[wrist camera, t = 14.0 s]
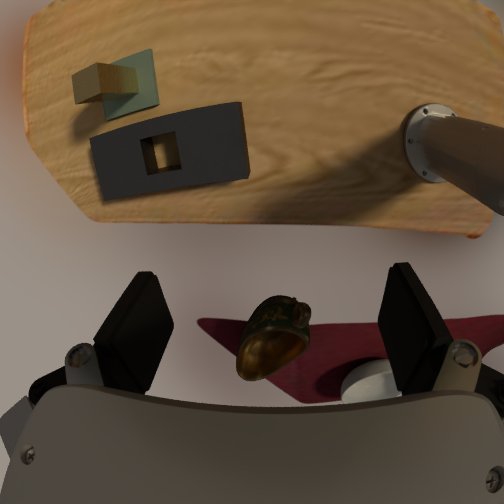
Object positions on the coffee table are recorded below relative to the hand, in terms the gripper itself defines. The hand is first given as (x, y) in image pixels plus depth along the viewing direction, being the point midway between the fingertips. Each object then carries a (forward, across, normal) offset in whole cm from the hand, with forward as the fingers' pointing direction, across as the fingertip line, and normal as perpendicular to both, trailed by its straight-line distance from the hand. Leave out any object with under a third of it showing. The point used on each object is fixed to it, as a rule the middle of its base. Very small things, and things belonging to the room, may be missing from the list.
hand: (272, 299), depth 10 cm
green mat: (+29, +20, -14) cm, 38 cm away
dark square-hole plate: (+29, +15, -3) cm, 33 cm away
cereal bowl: (+30, -21, +50) cm, 62 cm away
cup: (+30, +2, +30) cm, 42 cm away
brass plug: (+28, +20, -14) cm, 38 cm away
